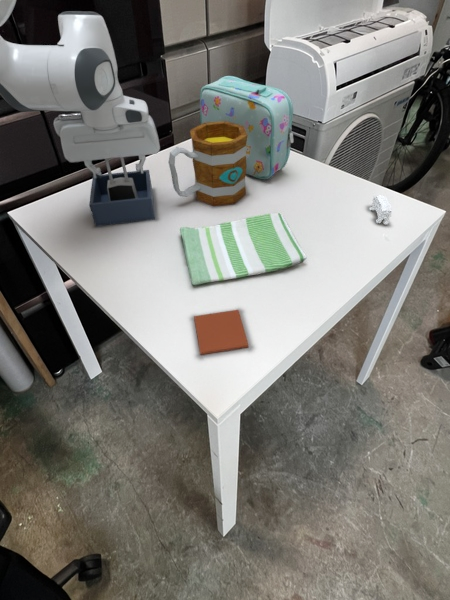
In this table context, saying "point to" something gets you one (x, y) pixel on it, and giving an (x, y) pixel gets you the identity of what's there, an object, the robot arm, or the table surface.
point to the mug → (215, 163)
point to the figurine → (381, 209)
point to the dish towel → (240, 248)
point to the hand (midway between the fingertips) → (119, 174)
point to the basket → (122, 201)
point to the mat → (220, 332)
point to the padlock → (120, 185)
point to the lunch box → (253, 120)
